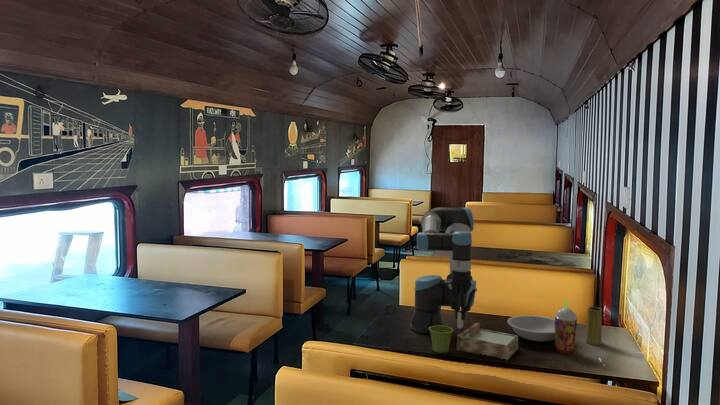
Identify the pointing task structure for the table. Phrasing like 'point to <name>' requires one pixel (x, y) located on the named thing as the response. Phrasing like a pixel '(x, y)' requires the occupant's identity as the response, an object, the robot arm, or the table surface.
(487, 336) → the cover plate
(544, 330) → the soup bowl
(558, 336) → the smoothie
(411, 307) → the table surface
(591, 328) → the vase
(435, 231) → the robot arm
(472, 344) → the box
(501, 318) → the table surface
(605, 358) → the table surface
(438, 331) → the plant pot
